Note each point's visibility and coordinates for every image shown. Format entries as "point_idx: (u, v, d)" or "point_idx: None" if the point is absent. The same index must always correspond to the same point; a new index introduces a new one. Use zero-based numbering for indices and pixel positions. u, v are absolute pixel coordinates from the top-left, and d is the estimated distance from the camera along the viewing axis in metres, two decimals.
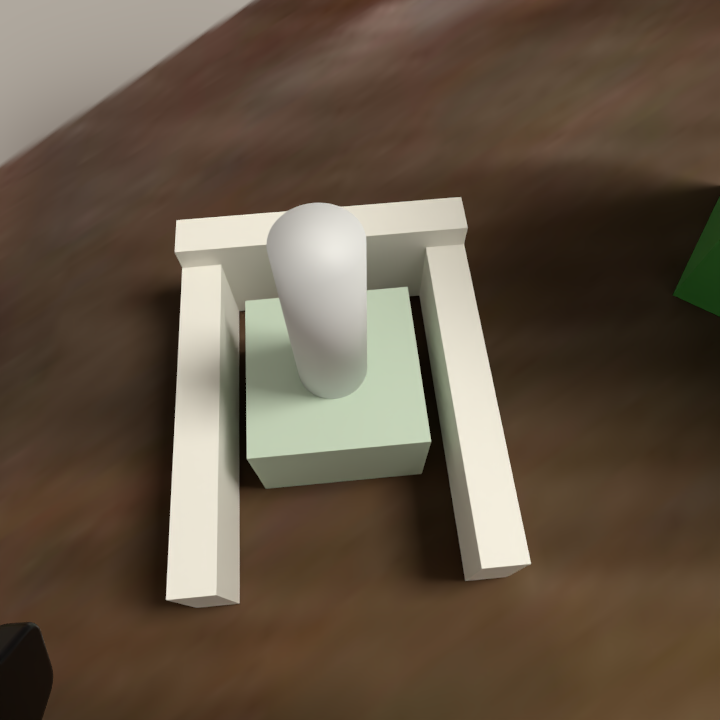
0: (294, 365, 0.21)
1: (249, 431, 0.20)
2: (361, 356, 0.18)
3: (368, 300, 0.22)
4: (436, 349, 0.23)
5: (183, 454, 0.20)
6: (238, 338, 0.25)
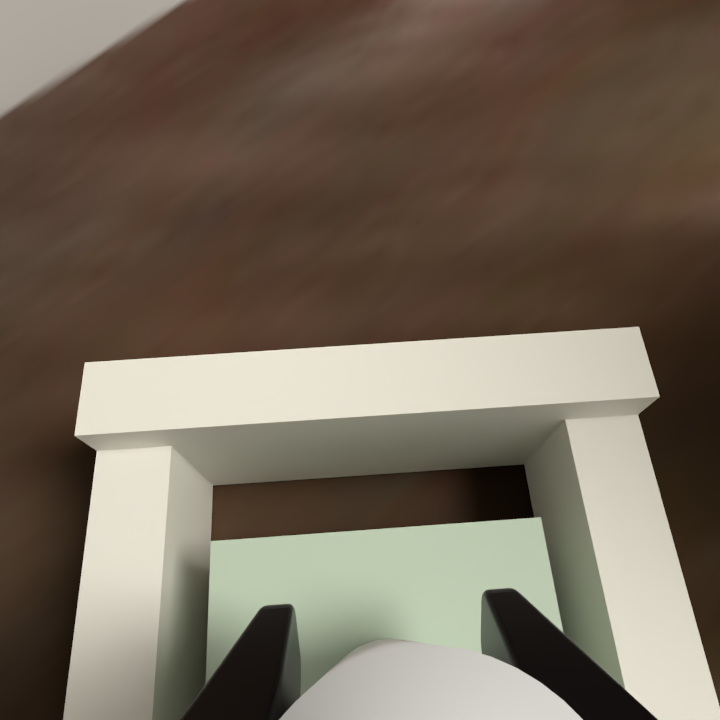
0: None
1: None
2: None
3: (462, 548, 0.11)
4: (583, 622, 0.12)
5: None
6: (209, 544, 0.14)
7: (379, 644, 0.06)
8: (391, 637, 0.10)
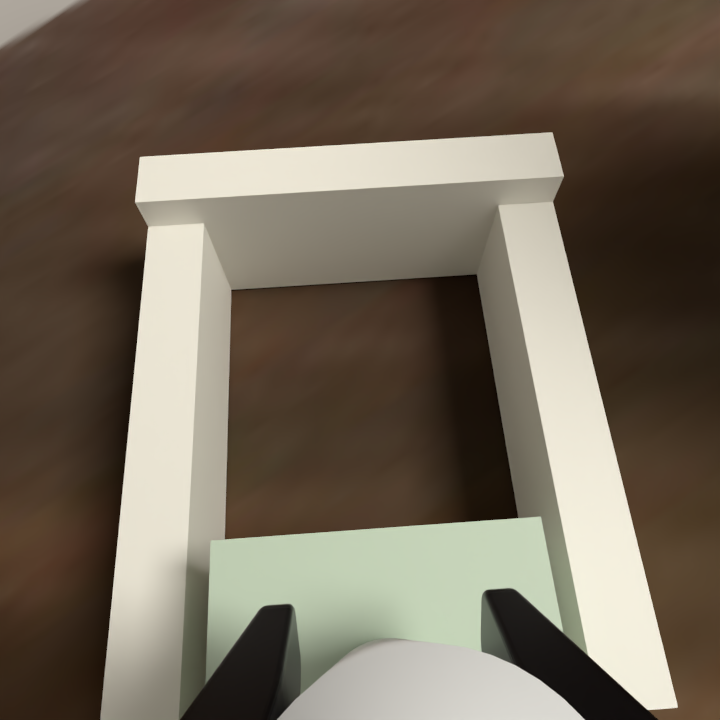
0: None
1: None
2: None
3: (462, 547, 0.11)
4: (509, 352, 0.16)
5: (136, 508, 0.13)
6: (229, 327, 0.18)
7: (379, 643, 0.06)
8: (391, 636, 0.10)
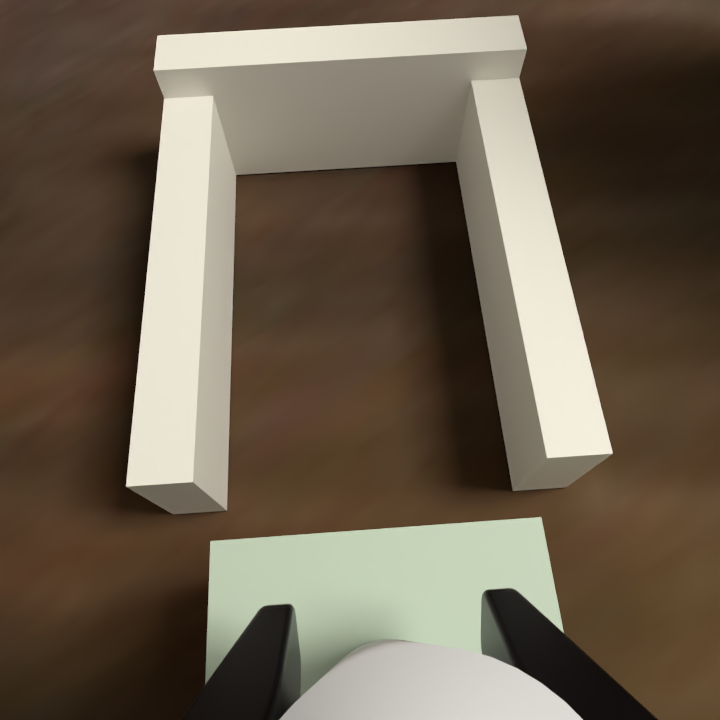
0: None
1: None
2: None
3: (462, 548, 0.11)
4: (481, 208, 0.18)
5: (156, 311, 0.15)
6: (234, 204, 0.21)
7: (379, 644, 0.06)
8: (391, 637, 0.10)
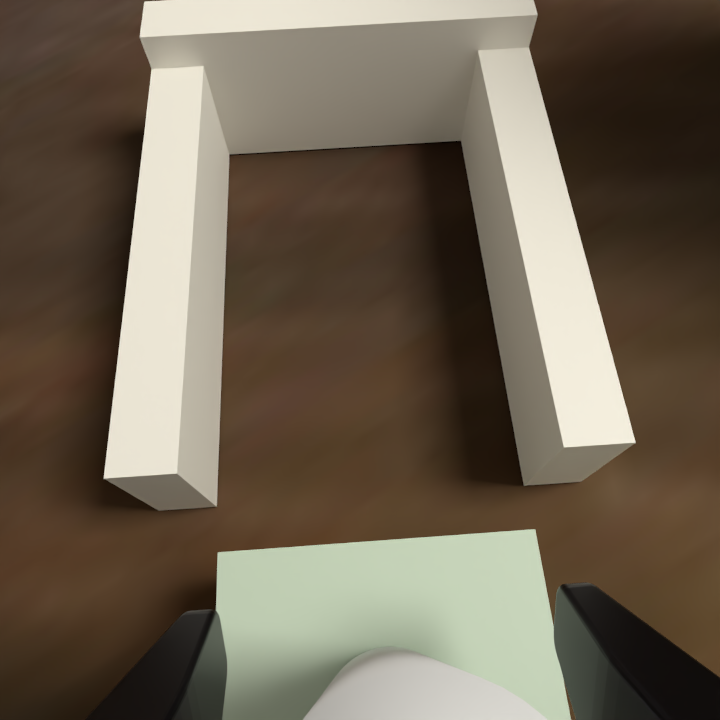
0: None
1: None
2: None
3: (459, 559, 0.11)
4: (488, 185, 0.17)
5: (140, 290, 0.14)
6: (227, 184, 0.20)
7: (380, 658, 0.06)
8: (391, 645, 0.10)
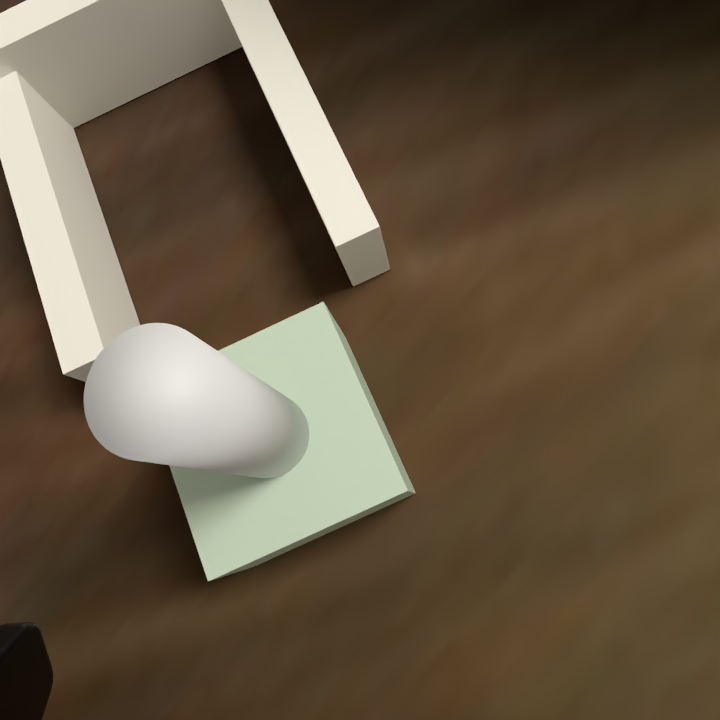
0: None
1: (200, 547, 0.16)
2: (289, 436, 0.15)
3: (283, 335, 0.18)
4: None
5: (38, 252, 0.20)
6: (80, 152, 0.25)
7: None
8: None
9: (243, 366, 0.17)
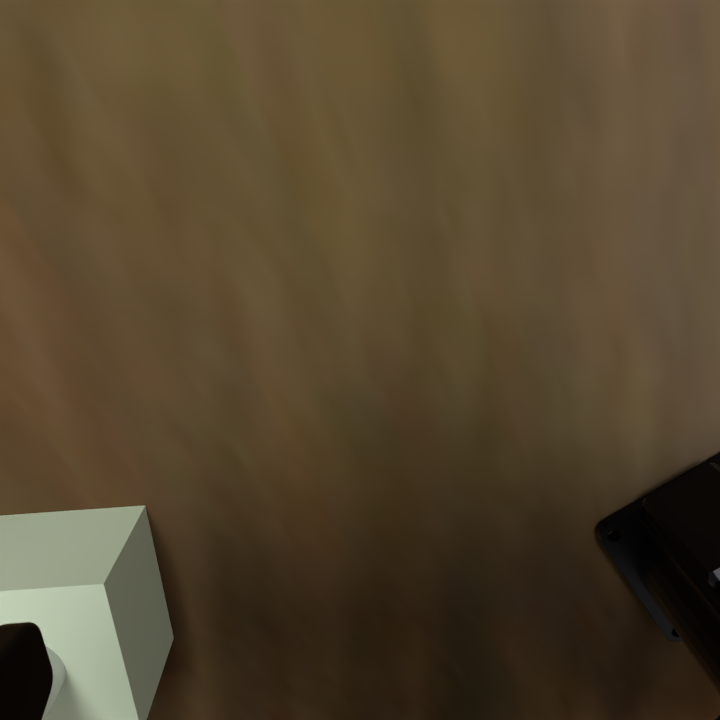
0: None
1: None
2: None
3: None
4: None
5: None
6: None
7: None
8: None
9: None
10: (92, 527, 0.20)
